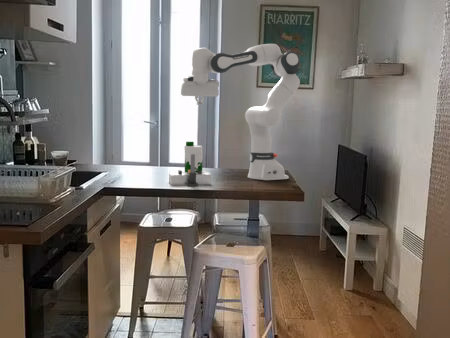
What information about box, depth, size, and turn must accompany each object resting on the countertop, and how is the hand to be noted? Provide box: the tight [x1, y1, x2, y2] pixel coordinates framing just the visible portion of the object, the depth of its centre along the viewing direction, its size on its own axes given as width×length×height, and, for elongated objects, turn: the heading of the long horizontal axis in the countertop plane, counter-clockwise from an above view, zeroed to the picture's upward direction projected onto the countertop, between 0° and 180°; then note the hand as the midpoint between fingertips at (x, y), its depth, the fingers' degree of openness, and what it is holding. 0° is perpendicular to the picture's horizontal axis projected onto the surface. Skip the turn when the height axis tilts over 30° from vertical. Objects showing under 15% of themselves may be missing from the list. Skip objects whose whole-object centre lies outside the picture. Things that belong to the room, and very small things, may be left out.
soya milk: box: [184, 141, 204, 172], centre depth 262 cm, size 9×9×20 cm
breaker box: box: [168, 169, 212, 186], centre depth 252 cm, size 20×8×7 cm, turn 105°
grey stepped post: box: [186, 154, 199, 188], centre depth 244 cm, size 5×5×16 cm
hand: (199, 104), depth 268 cm, fingers closed
